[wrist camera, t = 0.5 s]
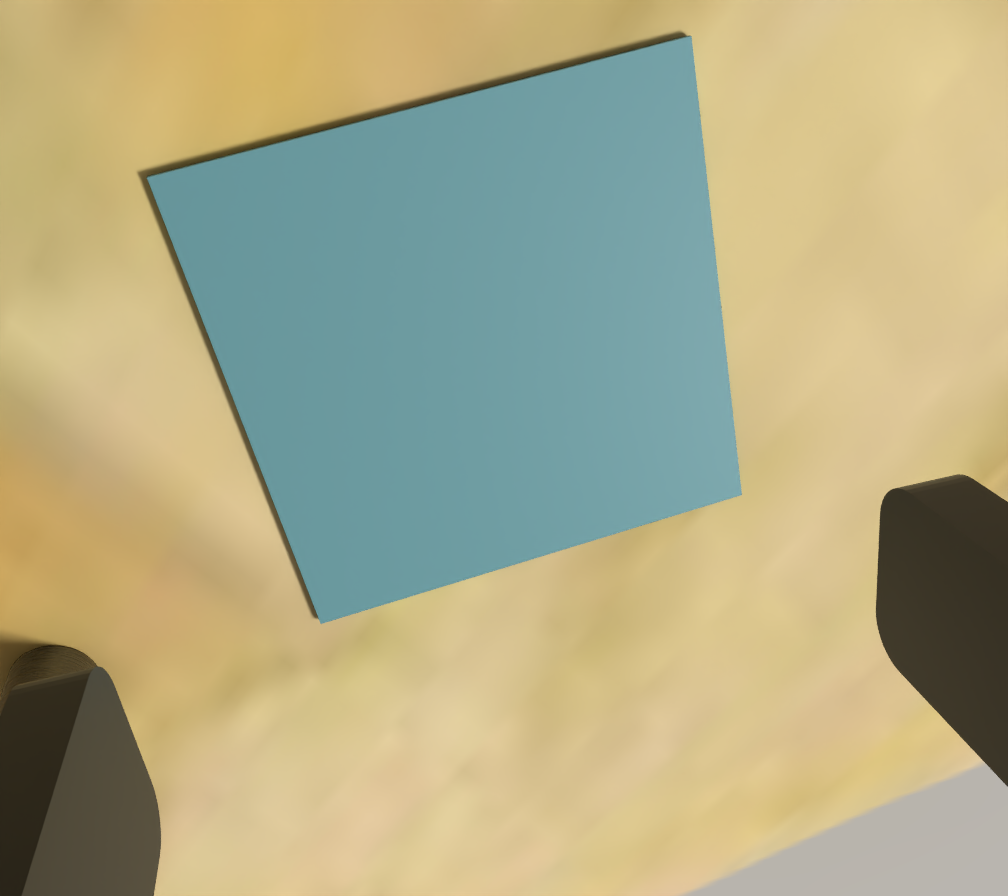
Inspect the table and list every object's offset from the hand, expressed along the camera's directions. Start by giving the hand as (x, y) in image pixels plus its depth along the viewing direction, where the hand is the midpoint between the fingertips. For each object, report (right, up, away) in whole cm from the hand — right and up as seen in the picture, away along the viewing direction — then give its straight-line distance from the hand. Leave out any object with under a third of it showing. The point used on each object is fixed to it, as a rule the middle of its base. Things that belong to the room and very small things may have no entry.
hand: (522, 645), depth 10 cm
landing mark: (-1, +5, +17) cm, 18 cm away
